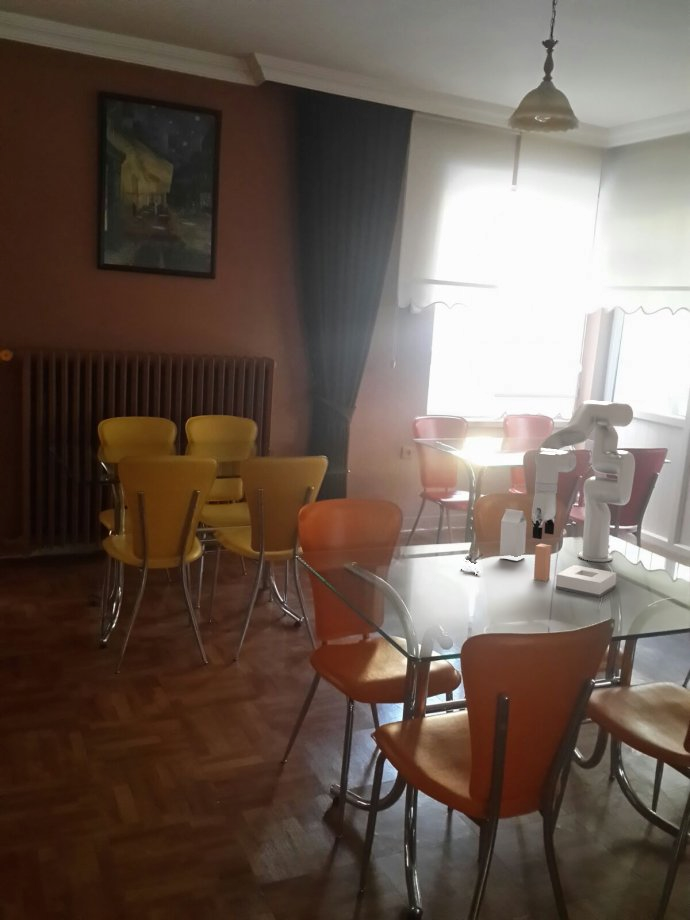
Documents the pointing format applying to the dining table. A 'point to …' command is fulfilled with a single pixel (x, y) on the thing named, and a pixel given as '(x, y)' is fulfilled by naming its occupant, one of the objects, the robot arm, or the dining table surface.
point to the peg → (542, 562)
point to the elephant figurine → (473, 559)
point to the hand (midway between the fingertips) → (543, 536)
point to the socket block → (586, 580)
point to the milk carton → (513, 533)
